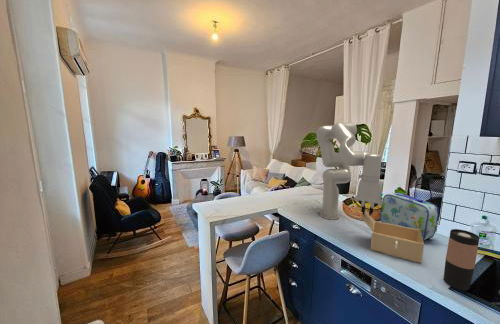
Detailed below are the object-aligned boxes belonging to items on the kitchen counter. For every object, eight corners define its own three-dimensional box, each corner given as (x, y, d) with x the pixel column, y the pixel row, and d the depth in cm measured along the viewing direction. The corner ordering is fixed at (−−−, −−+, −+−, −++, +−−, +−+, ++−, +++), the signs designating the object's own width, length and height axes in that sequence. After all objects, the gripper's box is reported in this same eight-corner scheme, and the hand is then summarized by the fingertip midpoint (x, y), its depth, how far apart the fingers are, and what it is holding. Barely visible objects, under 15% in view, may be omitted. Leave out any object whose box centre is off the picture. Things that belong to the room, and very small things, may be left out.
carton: (370, 252, 100) (371, 234, 99) (372, 236, 116) (373, 220, 114) (422, 266, 90) (425, 247, 89) (416, 246, 106) (419, 229, 104)
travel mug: (438, 274, 85) (445, 227, 82) (462, 278, 83) (470, 230, 80) (449, 288, 78) (458, 237, 75) (476, 293, 76) (486, 240, 73)
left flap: (373, 230, 102) (372, 231, 102) (374, 220, 113) (373, 221, 113) (362, 218, 103) (361, 218, 104) (365, 209, 114) (364, 209, 115)
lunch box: (438, 241, 111) (444, 202, 107) (424, 245, 107) (430, 205, 104) (390, 221, 135) (393, 188, 131) (377, 223, 131) (381, 190, 128)
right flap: (417, 225, 92) (419, 225, 92) (414, 215, 103) (415, 215, 103) (421, 241, 92) (423, 241, 92) (418, 229, 103) (419, 229, 103)
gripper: (351, 177, 106) (348, 213, 109) (389, 182, 98) (385, 220, 101) (353, 175, 112) (350, 208, 116) (390, 179, 104) (385, 215, 107)
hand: (366, 213), depth 108 cm, fingers closed
